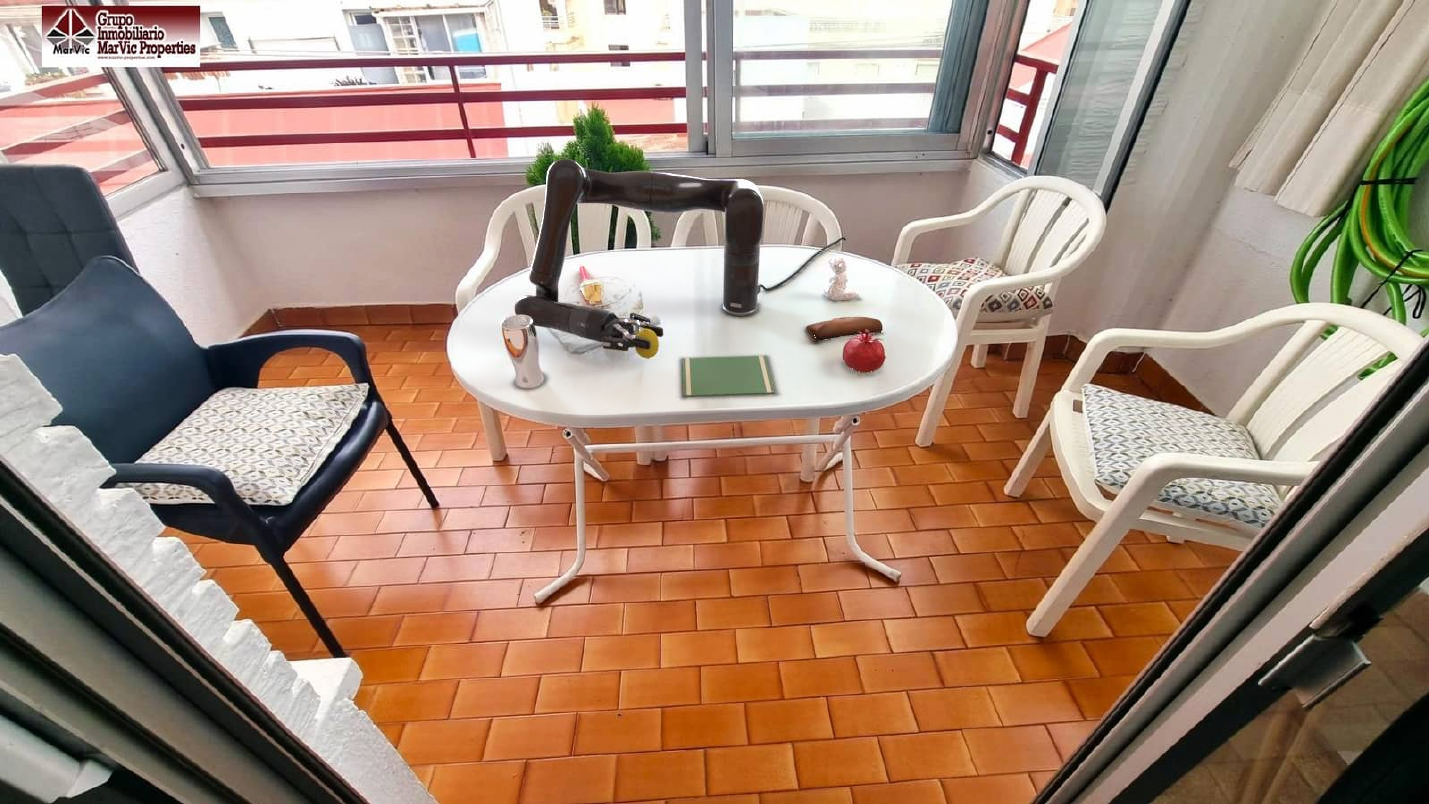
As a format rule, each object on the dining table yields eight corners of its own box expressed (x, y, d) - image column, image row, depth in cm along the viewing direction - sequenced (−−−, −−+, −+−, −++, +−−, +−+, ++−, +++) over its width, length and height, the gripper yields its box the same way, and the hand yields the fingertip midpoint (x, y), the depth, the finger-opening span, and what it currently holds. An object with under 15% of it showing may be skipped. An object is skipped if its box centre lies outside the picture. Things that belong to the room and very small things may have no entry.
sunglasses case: (866, 318, 153) (876, 304, 147) (875, 341, 150) (885, 328, 144) (803, 326, 149) (810, 312, 143) (811, 350, 147) (819, 337, 141)
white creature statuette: (859, 298, 163) (866, 258, 156) (837, 306, 159) (843, 265, 152) (836, 286, 169) (842, 247, 162) (814, 294, 165) (819, 254, 158)
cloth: (682, 359, 137) (682, 358, 137) (765, 357, 138) (765, 355, 138) (683, 396, 125) (683, 395, 125) (774, 393, 126) (774, 392, 126)
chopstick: (585, 309, 159) (601, 302, 159) (582, 303, 158) (597, 296, 158) (575, 274, 177) (589, 268, 177) (572, 268, 176) (586, 262, 176)
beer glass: (517, 372, 132) (503, 314, 123) (548, 371, 133) (536, 313, 124) (511, 390, 127) (496, 330, 118) (543, 388, 127) (530, 329, 118)
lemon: (656, 366, 133) (653, 336, 128) (633, 363, 134) (630, 333, 129) (662, 353, 137) (660, 324, 132) (640, 351, 138) (637, 321, 133)
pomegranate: (856, 382, 130) (863, 346, 124) (832, 360, 137) (837, 325, 132) (892, 372, 133) (900, 337, 128) (867, 351, 140) (873, 317, 135)
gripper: (573, 323, 129) (639, 339, 123) (607, 296, 139) (669, 310, 134) (577, 352, 133) (642, 368, 128) (610, 324, 144) (671, 338, 138)
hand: (656, 338), depth 131 cm, fingers closed on lemon, 5 cm apart
